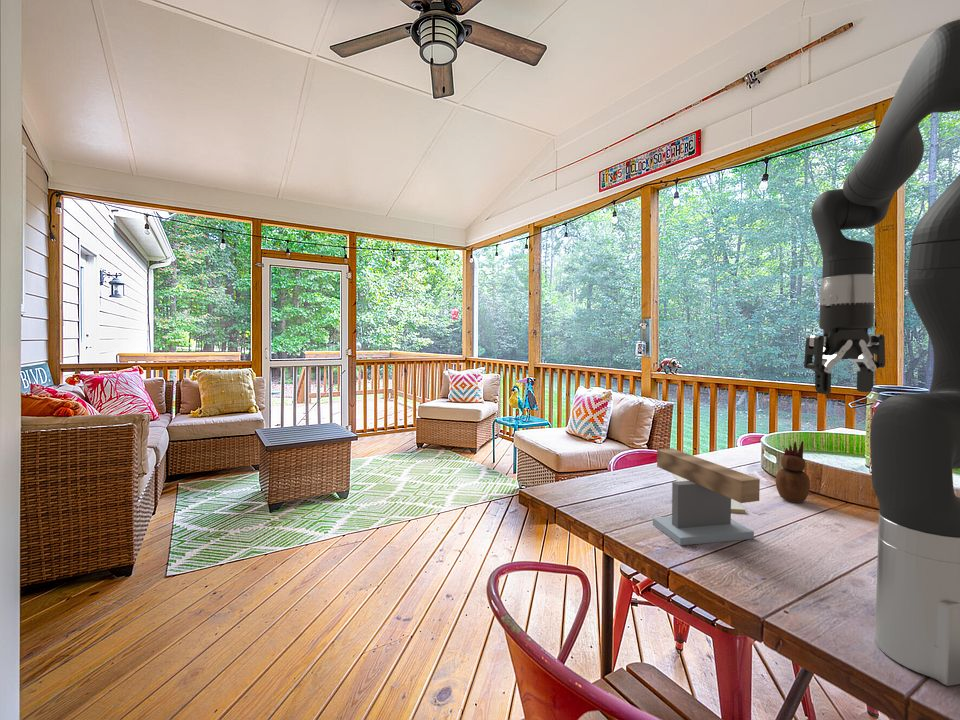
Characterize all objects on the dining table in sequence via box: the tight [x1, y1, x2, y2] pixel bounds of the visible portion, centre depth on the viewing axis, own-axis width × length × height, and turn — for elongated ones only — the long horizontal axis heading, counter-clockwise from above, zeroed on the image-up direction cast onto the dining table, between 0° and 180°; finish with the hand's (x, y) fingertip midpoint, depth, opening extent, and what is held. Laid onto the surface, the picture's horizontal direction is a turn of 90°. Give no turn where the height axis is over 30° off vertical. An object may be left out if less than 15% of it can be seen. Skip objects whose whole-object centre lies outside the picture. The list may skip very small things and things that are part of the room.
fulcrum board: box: [652, 481, 755, 546], centre depth 93 cm, size 10×16×10 cm, turn 99°
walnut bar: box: [656, 447, 761, 504], centre depth 93 cm, size 24×4×4 cm, turn 14°
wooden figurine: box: [775, 440, 811, 504], centre depth 110 cm, size 7×6×15 cm
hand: (843, 392), depth 81 cm, fingers open, 8 cm apart
